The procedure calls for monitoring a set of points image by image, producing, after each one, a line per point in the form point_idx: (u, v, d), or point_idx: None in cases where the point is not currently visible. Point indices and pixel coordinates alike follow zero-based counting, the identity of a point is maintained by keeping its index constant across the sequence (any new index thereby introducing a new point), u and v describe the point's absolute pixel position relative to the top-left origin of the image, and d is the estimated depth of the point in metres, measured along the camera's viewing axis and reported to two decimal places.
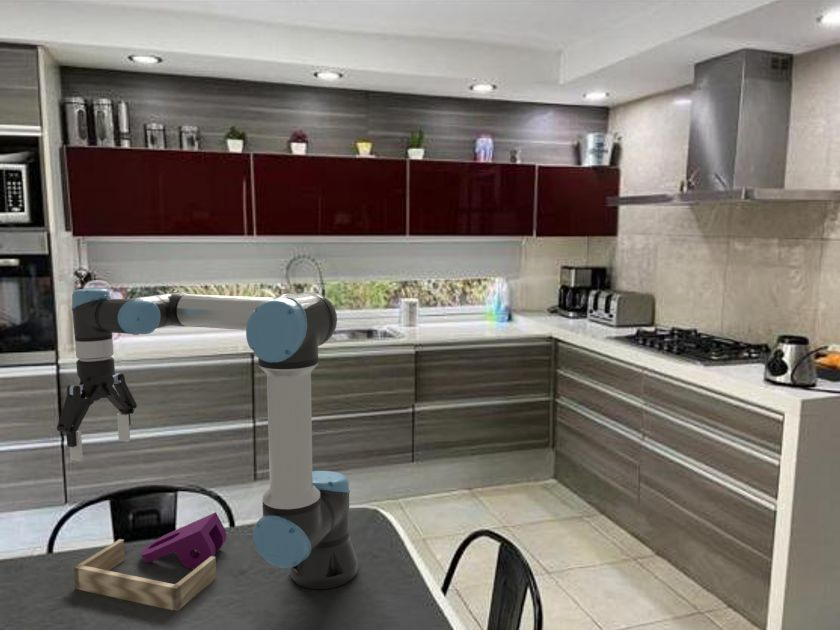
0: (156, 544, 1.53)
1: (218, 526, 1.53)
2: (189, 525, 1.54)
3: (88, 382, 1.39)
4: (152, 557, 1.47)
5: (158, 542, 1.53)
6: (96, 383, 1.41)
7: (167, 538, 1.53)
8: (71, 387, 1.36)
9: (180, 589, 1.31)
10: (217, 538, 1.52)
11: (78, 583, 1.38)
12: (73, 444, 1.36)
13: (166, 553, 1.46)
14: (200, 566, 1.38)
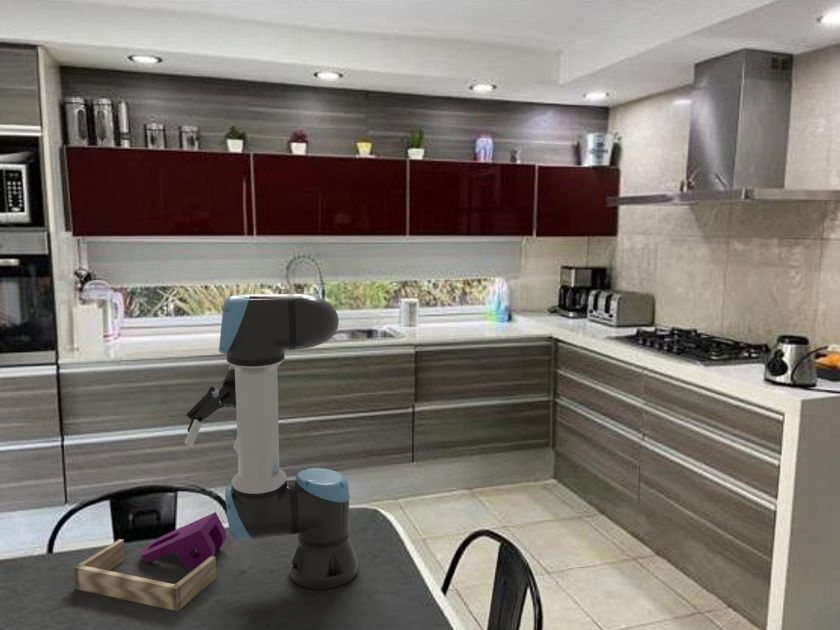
0: (156, 544, 1.53)
1: (218, 526, 1.53)
2: (189, 525, 1.54)
3: (222, 387, 1.67)
4: (152, 557, 1.47)
5: (158, 542, 1.53)
6: (228, 390, 1.66)
7: (167, 538, 1.53)
8: None
9: (180, 589, 1.31)
10: (217, 538, 1.53)
11: (78, 583, 1.38)
12: (189, 429, 1.62)
13: (166, 553, 1.46)
14: (200, 566, 1.38)
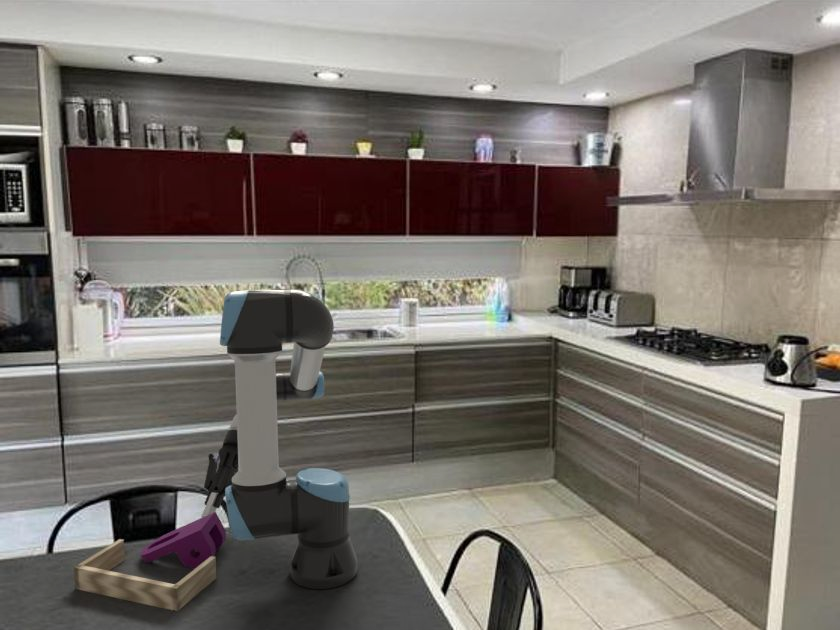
0: (155, 544, 1.53)
1: (218, 525, 1.53)
2: (189, 525, 1.54)
3: None
4: (153, 557, 1.47)
5: (157, 542, 1.53)
6: (227, 446, 1.71)
7: (167, 538, 1.53)
8: None
9: (180, 589, 1.31)
10: (217, 537, 1.53)
11: (78, 583, 1.38)
12: (206, 502, 1.62)
13: (166, 553, 1.46)
14: (200, 566, 1.38)
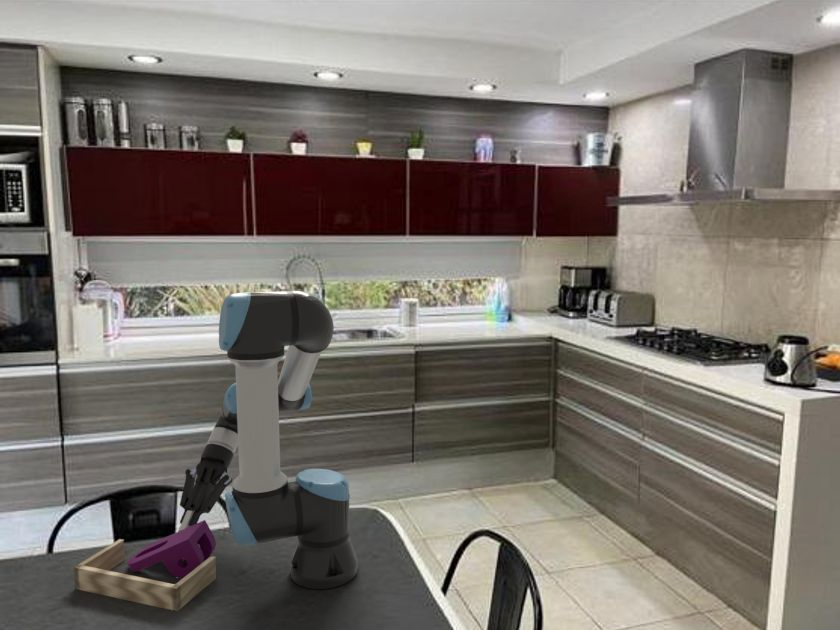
0: (143, 553, 1.49)
1: (207, 534, 1.49)
2: (177, 533, 1.50)
3: None
4: (139, 566, 1.43)
5: (146, 550, 1.49)
6: (205, 461, 1.63)
7: (155, 546, 1.49)
8: None
9: (180, 589, 1.31)
10: (206, 546, 1.49)
11: (78, 583, 1.38)
12: (181, 520, 1.54)
13: (153, 562, 1.42)
14: (200, 566, 1.38)
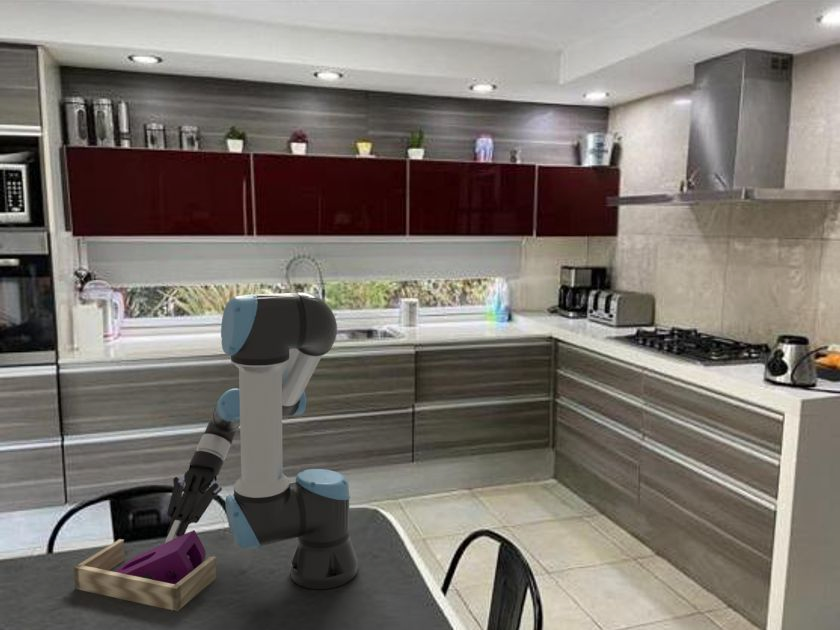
0: (130, 564, 1.44)
1: (197, 545, 1.44)
2: (166, 544, 1.44)
3: None
4: None
5: (132, 562, 1.44)
6: (194, 469, 1.58)
7: (142, 558, 1.43)
8: None
9: (180, 589, 1.31)
10: (196, 557, 1.44)
11: (78, 583, 1.38)
12: (169, 530, 1.49)
13: (141, 575, 1.37)
14: (200, 566, 1.38)
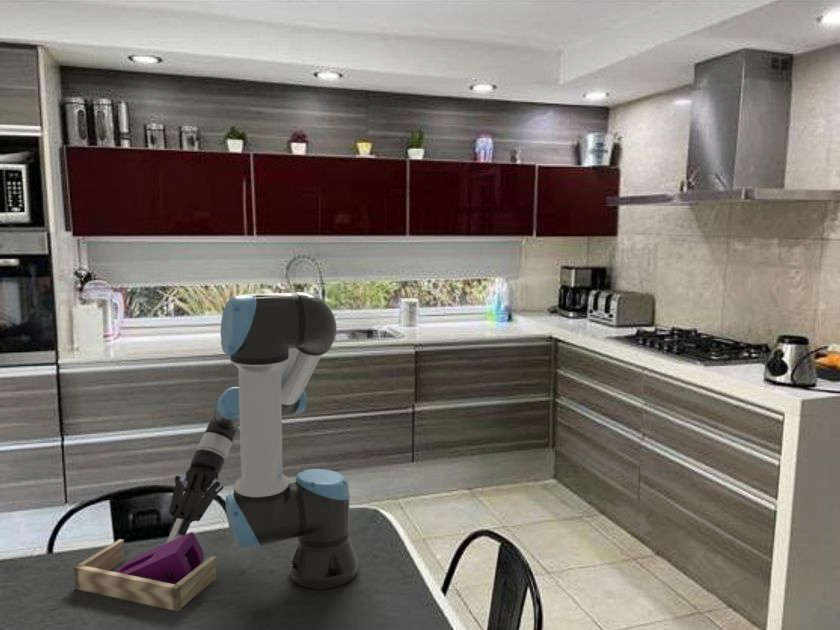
0: (128, 567, 1.43)
1: (195, 546, 1.43)
2: (164, 546, 1.44)
3: None
4: None
5: (130, 564, 1.43)
6: (195, 467, 1.58)
7: (140, 560, 1.42)
8: None
9: (180, 589, 1.31)
10: (194, 559, 1.43)
11: (78, 583, 1.38)
12: (171, 529, 1.50)
13: None
14: (200, 566, 1.38)
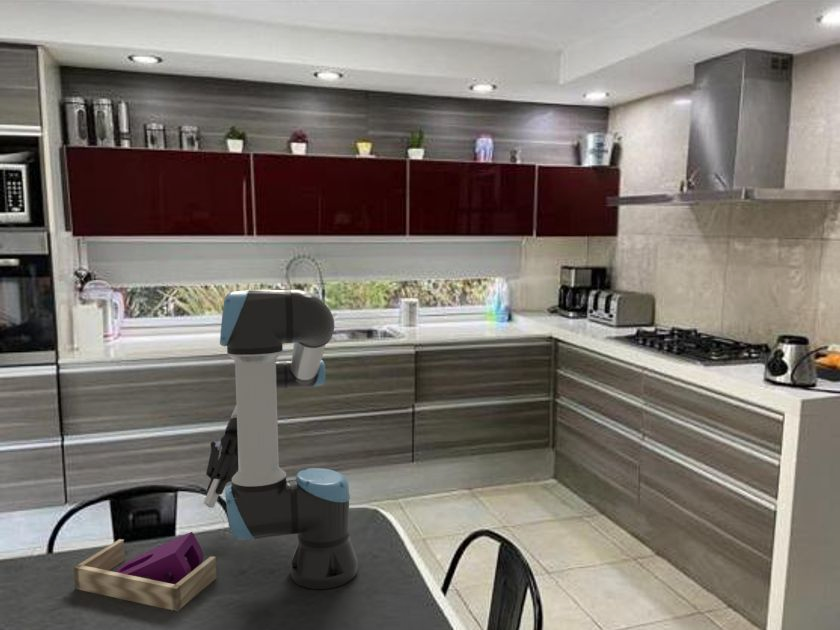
0: (128, 567, 1.43)
1: (194, 546, 1.43)
2: (163, 546, 1.44)
3: None
4: None
5: (130, 565, 1.43)
6: (229, 434, 1.71)
7: (139, 560, 1.42)
8: None
9: (180, 589, 1.31)
10: (194, 559, 1.43)
11: (78, 583, 1.38)
12: (208, 488, 1.62)
13: None
14: (200, 566, 1.38)
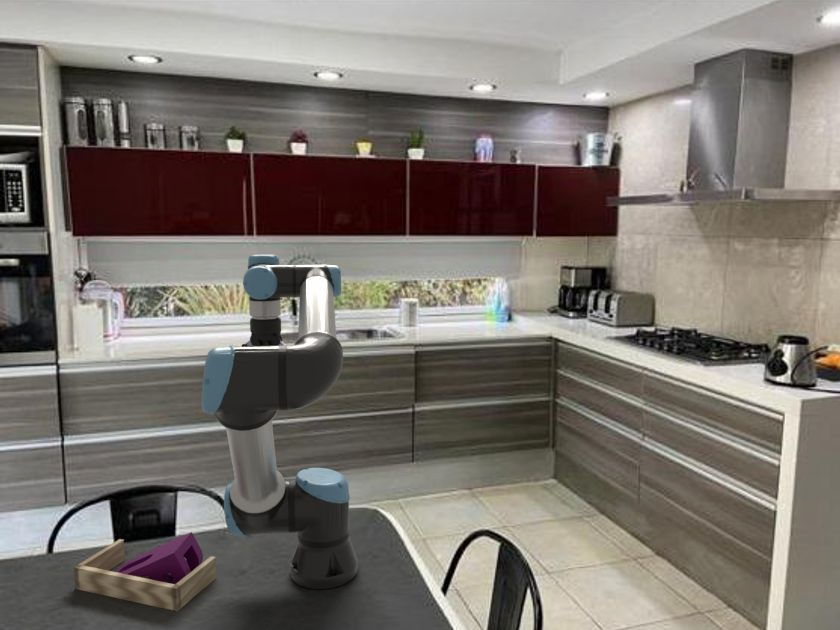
0: (127, 567, 1.43)
1: (194, 547, 1.43)
2: (163, 546, 1.44)
3: (250, 337, 1.58)
4: None
5: (129, 565, 1.43)
6: (257, 334, 1.58)
7: (139, 560, 1.42)
8: None
9: (180, 589, 1.31)
10: (193, 560, 1.43)
11: (78, 583, 1.38)
12: None
13: None
14: (200, 566, 1.38)
